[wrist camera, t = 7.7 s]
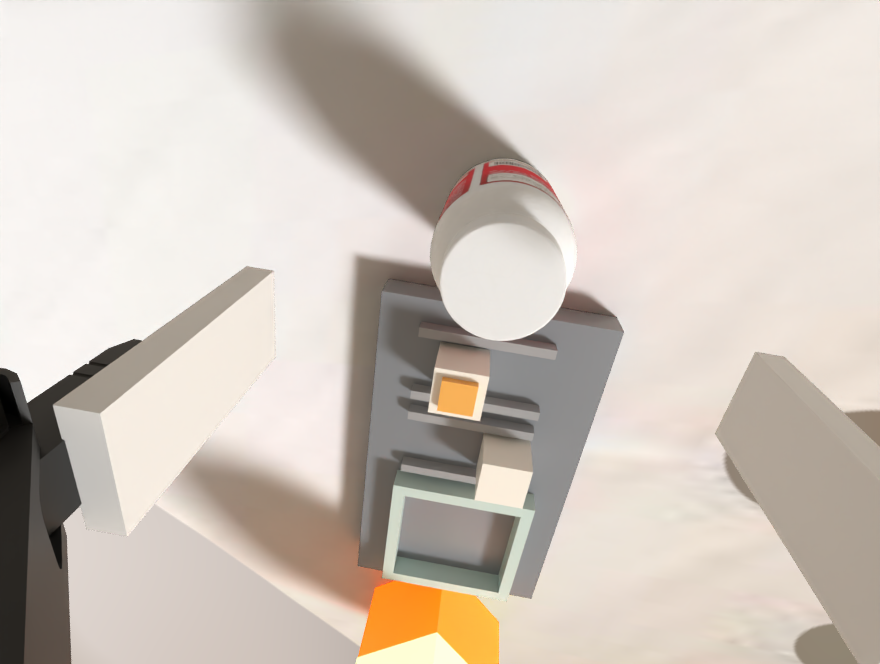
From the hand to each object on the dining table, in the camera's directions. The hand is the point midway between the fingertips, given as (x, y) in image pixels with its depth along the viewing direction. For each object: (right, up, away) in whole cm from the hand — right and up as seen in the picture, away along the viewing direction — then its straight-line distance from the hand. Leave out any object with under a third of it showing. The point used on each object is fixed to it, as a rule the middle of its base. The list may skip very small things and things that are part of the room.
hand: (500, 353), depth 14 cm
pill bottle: (+2, +7, +14) cm, 16 cm away
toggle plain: (+2, -7, +19) cm, 20 cm away
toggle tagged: (0, -2, +16) cm, 16 cm away
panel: (0, -8, +22) cm, 23 cm away
